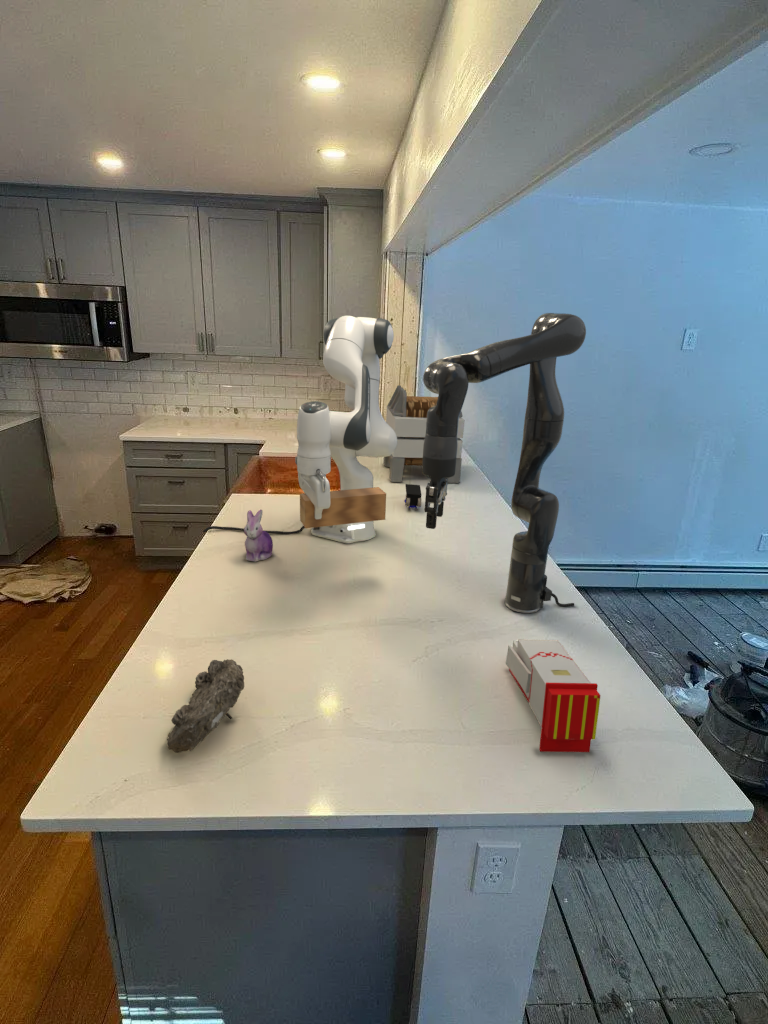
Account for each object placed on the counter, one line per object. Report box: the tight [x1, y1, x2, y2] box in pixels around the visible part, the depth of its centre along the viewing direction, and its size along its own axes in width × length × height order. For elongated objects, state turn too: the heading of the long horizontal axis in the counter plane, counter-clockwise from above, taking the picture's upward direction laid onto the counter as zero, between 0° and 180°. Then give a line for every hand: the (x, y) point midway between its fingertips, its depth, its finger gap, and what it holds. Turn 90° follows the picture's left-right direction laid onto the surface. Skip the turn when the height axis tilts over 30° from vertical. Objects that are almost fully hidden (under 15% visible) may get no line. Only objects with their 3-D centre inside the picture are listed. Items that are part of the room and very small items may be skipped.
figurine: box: [243, 508, 274, 562], centre depth 175 cm, size 9×10×15 cm
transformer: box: [383, 384, 465, 484], centre depth 268 cm, size 34×33×41 cm
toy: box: [505, 638, 602, 753], centre depth 114 cm, size 12×13×30 cm
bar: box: [299, 486, 387, 529], centre depth 157 cm, size 23×6×8 cm, turn 112°
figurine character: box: [403, 483, 422, 512], centre depth 227 cm, size 7×8×15 cm
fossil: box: [166, 658, 245, 754], centre depth 106 cm, size 22×10×15 cm
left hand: (314, 513), depth 155 cm, fingers closed on bar, 6 cm apart
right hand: (434, 521), depth 132 cm, fingers open, 8 cm apart
